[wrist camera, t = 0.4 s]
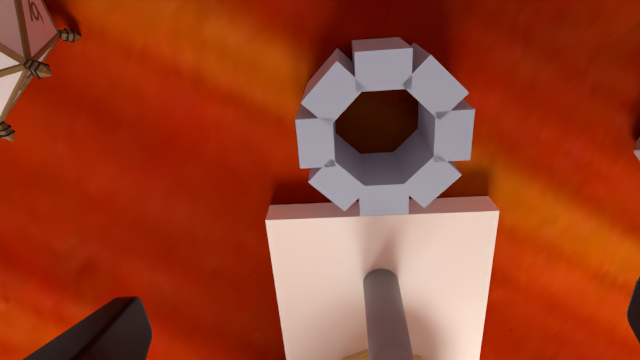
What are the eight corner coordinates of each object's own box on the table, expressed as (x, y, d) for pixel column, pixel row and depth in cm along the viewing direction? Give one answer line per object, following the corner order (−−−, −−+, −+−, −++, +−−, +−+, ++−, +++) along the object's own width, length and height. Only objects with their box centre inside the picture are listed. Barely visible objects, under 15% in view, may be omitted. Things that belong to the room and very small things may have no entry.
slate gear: (445, 176, 20) (465, 211, 16) (310, 182, 20) (305, 218, 17) (454, 33, 17) (481, 43, 14) (297, 44, 17) (288, 56, 14)
